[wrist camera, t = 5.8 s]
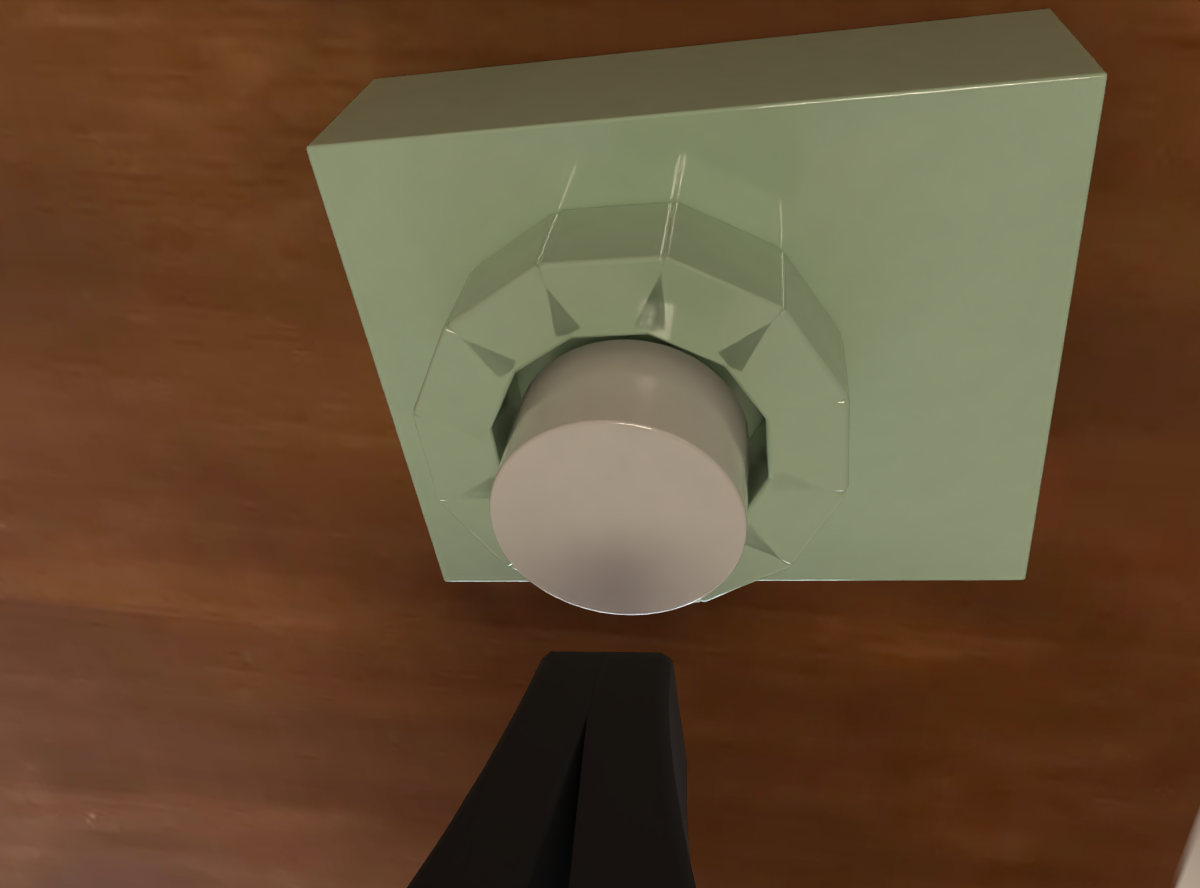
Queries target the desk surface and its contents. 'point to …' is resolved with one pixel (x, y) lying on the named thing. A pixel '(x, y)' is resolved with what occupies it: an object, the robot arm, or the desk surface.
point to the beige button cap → (624, 479)
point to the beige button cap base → (742, 271)
